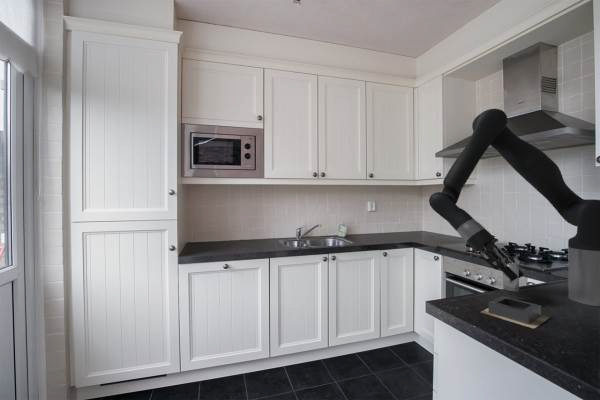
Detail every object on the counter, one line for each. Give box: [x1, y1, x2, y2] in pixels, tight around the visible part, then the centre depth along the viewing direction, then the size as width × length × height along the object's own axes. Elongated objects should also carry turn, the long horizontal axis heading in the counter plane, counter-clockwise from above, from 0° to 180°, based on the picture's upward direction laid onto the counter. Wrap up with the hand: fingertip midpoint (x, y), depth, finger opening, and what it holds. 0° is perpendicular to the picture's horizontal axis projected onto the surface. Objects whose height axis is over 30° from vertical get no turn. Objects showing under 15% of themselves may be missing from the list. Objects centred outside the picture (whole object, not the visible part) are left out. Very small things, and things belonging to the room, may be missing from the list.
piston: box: [502, 262, 520, 292], centre depth 86 cm, size 4×4×8 cm
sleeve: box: [487, 295, 542, 325], centre depth 75 cm, size 9×9×3 cm
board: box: [480, 307, 550, 329], centre depth 75 cm, size 12×12×1 cm
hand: (518, 277), depth 84 cm, fingers closed on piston, 4 cm apart
